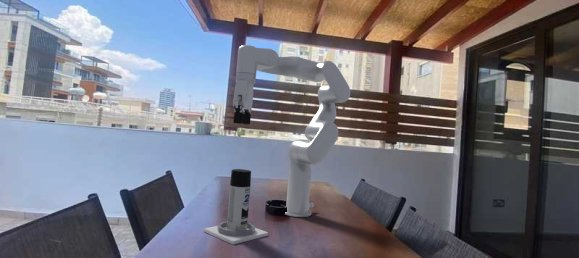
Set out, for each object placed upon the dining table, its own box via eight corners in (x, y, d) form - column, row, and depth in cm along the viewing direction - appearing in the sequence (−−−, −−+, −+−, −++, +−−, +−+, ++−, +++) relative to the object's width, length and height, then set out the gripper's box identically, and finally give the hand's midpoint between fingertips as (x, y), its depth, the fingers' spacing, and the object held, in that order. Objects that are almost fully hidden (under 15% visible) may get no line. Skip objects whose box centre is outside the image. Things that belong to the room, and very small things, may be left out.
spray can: (242, 234, 111) (248, 172, 111) (222, 231, 113) (228, 170, 112) (249, 229, 118) (254, 170, 118) (230, 226, 119) (235, 168, 119)
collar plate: (238, 224, 126) (238, 217, 126) (267, 235, 116) (268, 228, 116) (203, 231, 114) (204, 223, 114) (233, 244, 104) (233, 236, 104)
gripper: (243, 81, 141) (239, 123, 141) (228, 74, 124) (224, 122, 124) (261, 82, 140) (257, 125, 140) (248, 75, 123) (244, 124, 123)
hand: (242, 123), depth 132 cm, fingers open, 9 cm apart
